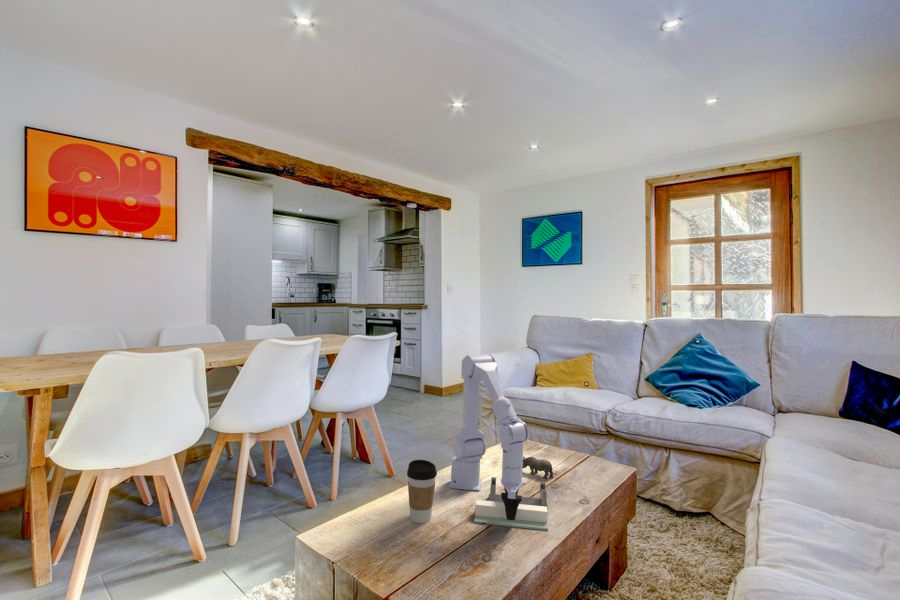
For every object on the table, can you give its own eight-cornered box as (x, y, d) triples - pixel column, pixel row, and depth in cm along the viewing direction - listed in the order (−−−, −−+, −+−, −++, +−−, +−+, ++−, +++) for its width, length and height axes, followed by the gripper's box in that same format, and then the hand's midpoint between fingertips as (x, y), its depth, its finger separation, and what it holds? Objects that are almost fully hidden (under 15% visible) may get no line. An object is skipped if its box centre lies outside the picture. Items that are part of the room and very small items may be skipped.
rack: (487, 506, 128) (488, 486, 128) (489, 496, 135) (489, 477, 135) (548, 512, 126) (548, 492, 126) (546, 501, 133) (546, 482, 133)
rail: (475, 515, 122) (475, 504, 122) (476, 510, 125) (476, 499, 125) (547, 522, 119) (547, 511, 119) (546, 517, 122) (546, 506, 122)
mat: (474, 522, 119) (474, 520, 119) (476, 507, 128) (476, 505, 128) (548, 530, 116) (548, 528, 116) (545, 514, 125) (545, 512, 125)
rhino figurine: (518, 467, 159) (518, 451, 159) (554, 477, 152) (555, 460, 152) (513, 471, 156) (514, 454, 155) (550, 481, 148) (551, 463, 148)
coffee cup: (422, 507, 126) (423, 456, 126) (441, 518, 120) (443, 465, 120) (399, 517, 121) (400, 463, 120) (418, 529, 114) (420, 473, 114)
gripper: (527, 476, 114) (525, 527, 114) (525, 456, 128) (524, 502, 128) (500, 474, 115) (499, 524, 115) (502, 454, 129) (500, 499, 129)
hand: (510, 512), depth 122 cm, fingers open, 7 cm apart
